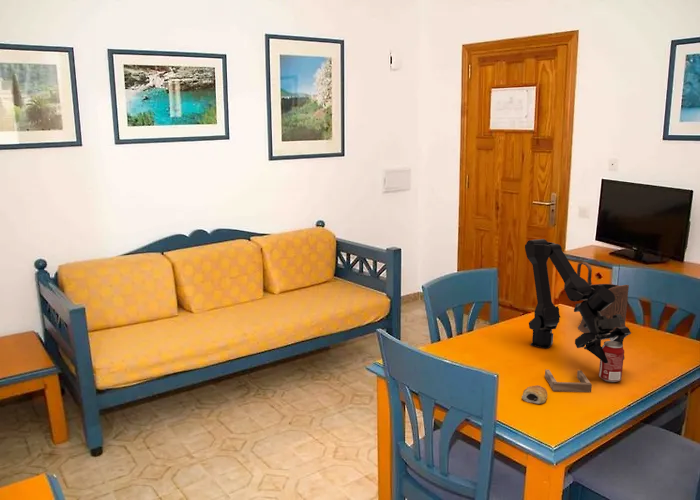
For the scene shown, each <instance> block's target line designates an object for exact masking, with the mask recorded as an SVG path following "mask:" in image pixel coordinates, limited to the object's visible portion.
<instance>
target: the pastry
mask: <svg viewBox="0 0 700 500" xmlns="http://www.w3.org/2000/svg"><path fill="white" fill-rule="evenodd" d="M522 392H523V393H522V395H521V399H522V400H523V401H524V402H527V403H531V404H535V405H541V404H545V403H546V400H547V398H548V391H547V389H546V388H545V387H543V386H541V385H539V384H538V385H531V386H527V387H526V388H525V389H524V390H523V391H522Z"/></svg>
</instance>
